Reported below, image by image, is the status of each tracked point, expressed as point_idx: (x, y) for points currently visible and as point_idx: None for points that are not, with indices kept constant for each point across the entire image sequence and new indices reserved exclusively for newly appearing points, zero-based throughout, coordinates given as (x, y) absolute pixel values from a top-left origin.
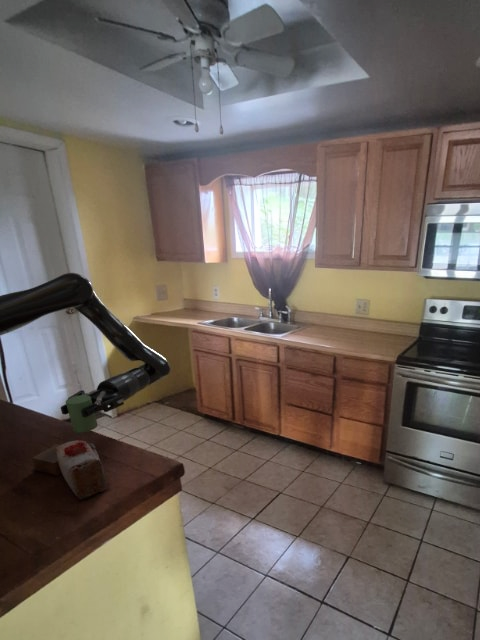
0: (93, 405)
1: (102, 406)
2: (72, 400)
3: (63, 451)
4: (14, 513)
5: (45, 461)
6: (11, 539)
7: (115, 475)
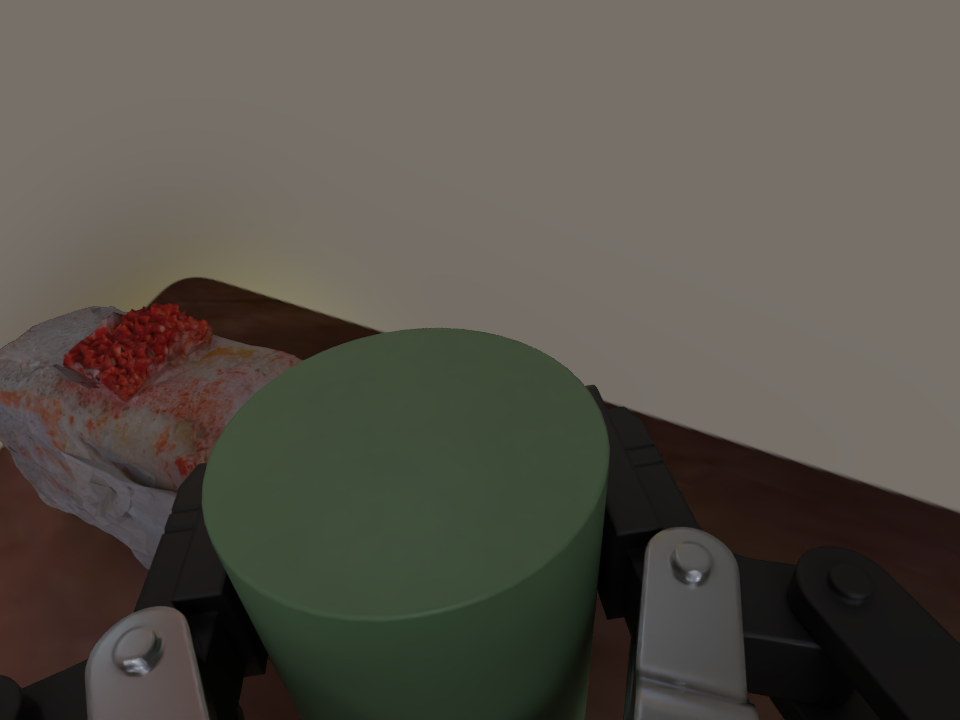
0: (182, 587)
1: (42, 698)
2: (459, 383)
3: (238, 347)
4: (353, 337)
5: None
6: (266, 303)
7: (60, 615)
